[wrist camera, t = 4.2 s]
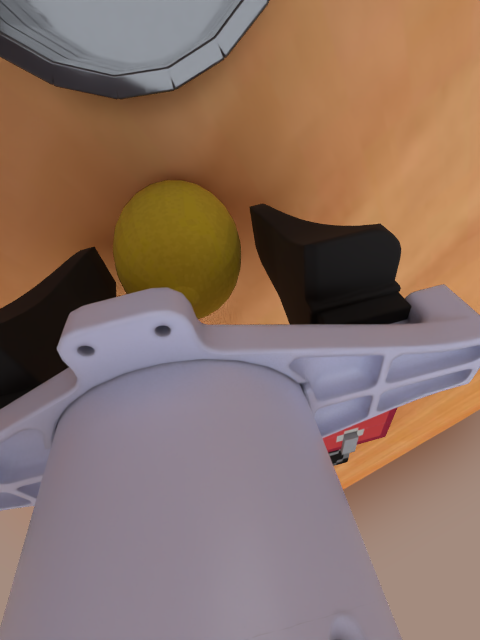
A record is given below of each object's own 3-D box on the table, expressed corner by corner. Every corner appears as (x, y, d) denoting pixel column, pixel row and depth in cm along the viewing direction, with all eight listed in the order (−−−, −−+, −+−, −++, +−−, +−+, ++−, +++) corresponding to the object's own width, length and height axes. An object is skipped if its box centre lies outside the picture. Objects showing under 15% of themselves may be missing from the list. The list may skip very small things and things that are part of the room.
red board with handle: (283, 473, 47) (372, 448, 48) (289, 492, 45) (381, 465, 46) (264, 358, 27) (420, 317, 27) (273, 383, 25) (441, 338, 25)
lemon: (239, 237, 18) (274, 328, 12) (156, 269, 18) (152, 372, 13) (203, 138, 14) (230, 205, 8) (100, 183, 14) (57, 275, 9)
